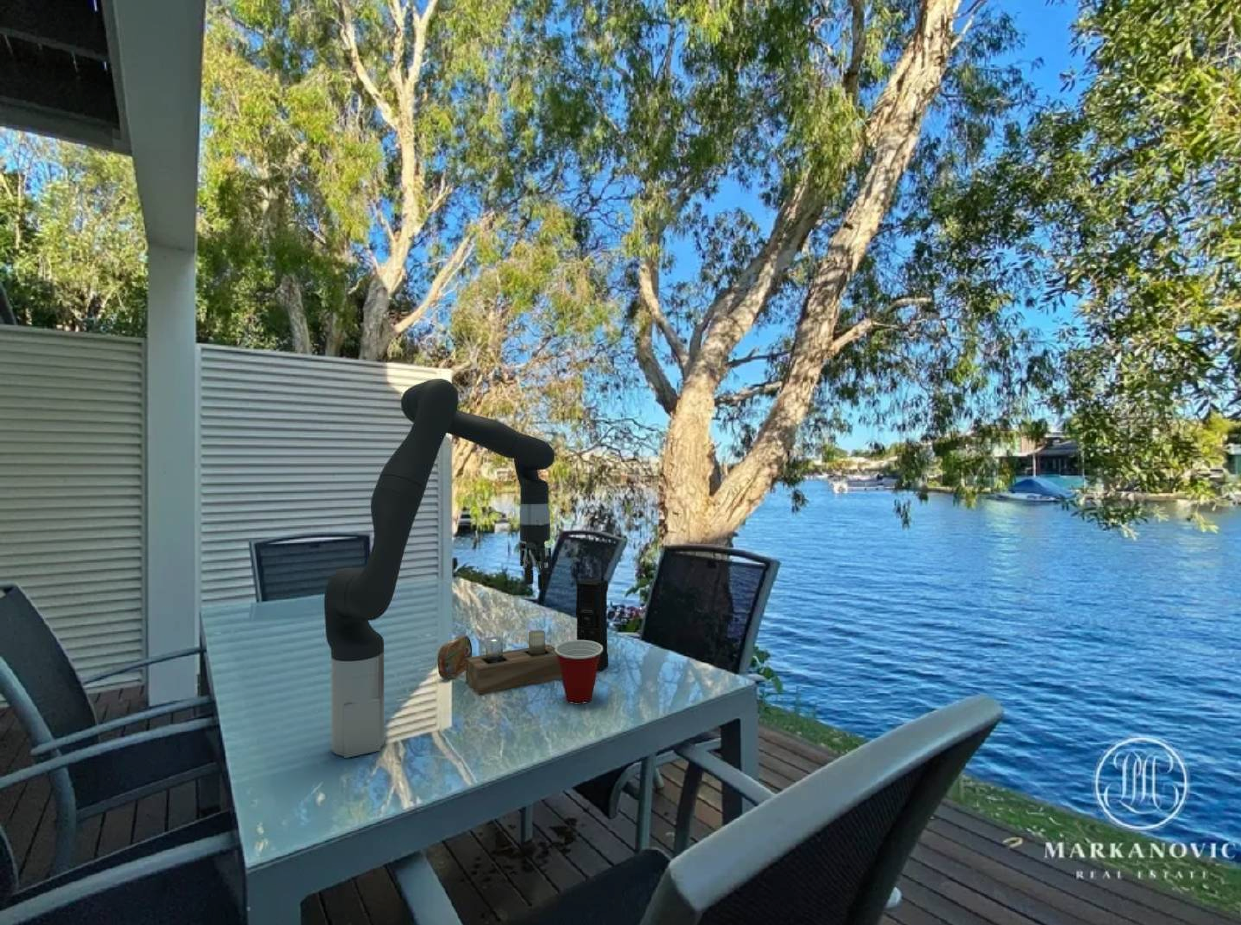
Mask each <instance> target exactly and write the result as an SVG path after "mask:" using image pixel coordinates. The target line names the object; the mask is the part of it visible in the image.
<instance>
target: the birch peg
mask: <svg viewBox="0 0 1241 925" xmlns="http://www.w3.org/2000/svg"><path fill="white" fill-rule="evenodd" d="M545 645H546V631H545V630H543V629H542V630H540V629H537V630H530V631H529V632H528V648H529V655H531V656H537V655H542V654H545Z"/></svg>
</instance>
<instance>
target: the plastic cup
mask: <svg viewBox="0 0 1241 925" xmlns="http://www.w3.org/2000/svg"><path fill="white" fill-rule="evenodd" d="M554 647H555V652H556V654H557V656H558V659H559V663H560V669H561V675H562V679H561V680H562V681H561V682H562V686H563V689H564V696H565V700H566V702H567V701H568V703H569V702H573V703H583V702H588V703H590V702H591V701H592V700H593V697H594V690H595V685H596V679H597V673H598V672H597V667H598V662H599V658H600V655H601V652H602V651H603V646H602V645H600V644H599V643H596V642H593V641H588V640H577V639H573V640H572V639H571V640H566V641H562V642H560V643H558V644H557V645H555V646H554ZM591 699H592V700H591ZM590 700H591V701H590ZM589 701H590V702H589Z"/></svg>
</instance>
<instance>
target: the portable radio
mask: <svg viewBox="0 0 1241 925" xmlns="http://www.w3.org/2000/svg"><path fill="white" fill-rule="evenodd" d="M600 572H601V578H600V579H599V578H598V579H597V578H582V579H578V580H576V602H575V603H576V605H575V616H576V640H588V641H593V642H596V643H599V644H600V645H602V646H603V651H602V652H601V655H600V658H599V662H598V667H597V671H600V672H602V671H603V670H602V669H604V668H605V669H606V667H607V668H608V665H609V653H608V606H607V604H608V599H607V598H608V597H607V596H608V595H607V594H608V591H609V586H608V585H609V582H608V580H607V579H605V578H604V572H605V571H603V570H601V571H600ZM605 669H604V670H605ZM601 670H602V671H601Z"/></svg>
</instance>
